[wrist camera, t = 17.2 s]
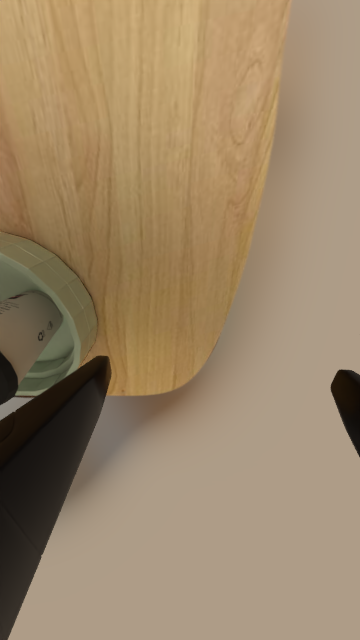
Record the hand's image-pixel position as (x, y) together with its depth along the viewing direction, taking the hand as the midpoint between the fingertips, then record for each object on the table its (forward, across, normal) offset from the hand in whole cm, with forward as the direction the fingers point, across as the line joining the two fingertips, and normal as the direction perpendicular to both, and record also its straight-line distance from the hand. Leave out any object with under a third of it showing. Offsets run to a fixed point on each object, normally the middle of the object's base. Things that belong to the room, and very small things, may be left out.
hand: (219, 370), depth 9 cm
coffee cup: (+13, +16, +5) cm, 21 cm away
